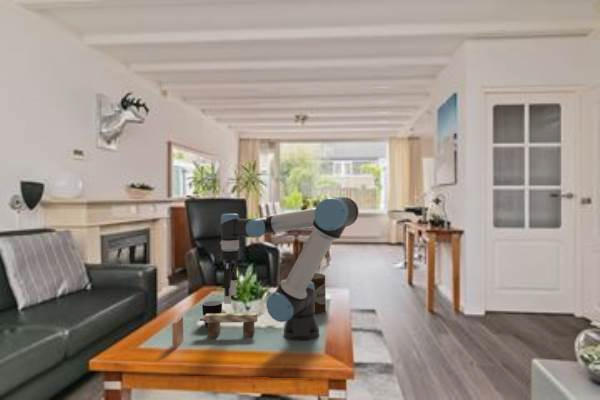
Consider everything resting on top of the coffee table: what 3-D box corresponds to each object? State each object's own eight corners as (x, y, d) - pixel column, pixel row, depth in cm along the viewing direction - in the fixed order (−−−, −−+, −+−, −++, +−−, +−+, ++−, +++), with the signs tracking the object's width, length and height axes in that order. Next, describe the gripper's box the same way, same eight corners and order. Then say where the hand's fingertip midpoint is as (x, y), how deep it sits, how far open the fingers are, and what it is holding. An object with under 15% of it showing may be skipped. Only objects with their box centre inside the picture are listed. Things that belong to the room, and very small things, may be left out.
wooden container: (322, 315, 199) (321, 271, 198) (293, 314, 203) (292, 270, 202) (328, 307, 213) (327, 266, 213) (301, 306, 217) (300, 265, 217)
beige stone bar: (257, 319, 175) (257, 312, 175) (256, 322, 170) (256, 315, 170) (202, 319, 176) (202, 312, 176) (199, 323, 171) (199, 316, 171)
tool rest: (254, 332, 176) (254, 318, 176) (252, 337, 170) (252, 323, 170) (211, 333, 176) (210, 319, 176) (207, 337, 170) (207, 323, 170)
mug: (224, 326, 185) (223, 304, 185) (204, 328, 182) (203, 306, 182) (219, 318, 196) (219, 298, 196) (200, 321, 193) (200, 300, 193)
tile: (183, 340, 167) (182, 316, 167) (177, 348, 159) (176, 323, 159) (178, 340, 167) (178, 316, 167) (172, 348, 159) (171, 323, 159)
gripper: (226, 245, 185) (227, 291, 185) (215, 254, 160) (215, 307, 161) (243, 245, 185) (243, 291, 185) (233, 254, 160) (234, 307, 160)
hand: (230, 299), depth 173 cm, fingers open, 13 cm apart
